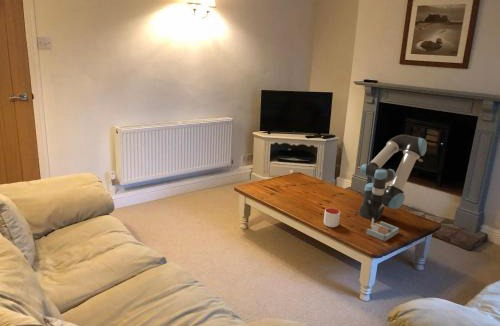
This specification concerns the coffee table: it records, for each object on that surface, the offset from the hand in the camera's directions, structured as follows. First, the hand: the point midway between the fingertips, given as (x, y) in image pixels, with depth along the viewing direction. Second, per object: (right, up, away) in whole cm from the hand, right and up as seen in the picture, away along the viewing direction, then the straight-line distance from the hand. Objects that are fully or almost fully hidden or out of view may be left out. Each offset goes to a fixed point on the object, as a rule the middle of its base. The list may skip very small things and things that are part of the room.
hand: (372, 226), depth 271 cm
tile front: (+5, -4, -4) cm, 8 cm away
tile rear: (+2, -3, -1) cm, 4 cm away
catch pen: (+5, -4, -4) cm, 8 cm away
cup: (-27, 0, +5) cm, 27 cm away
